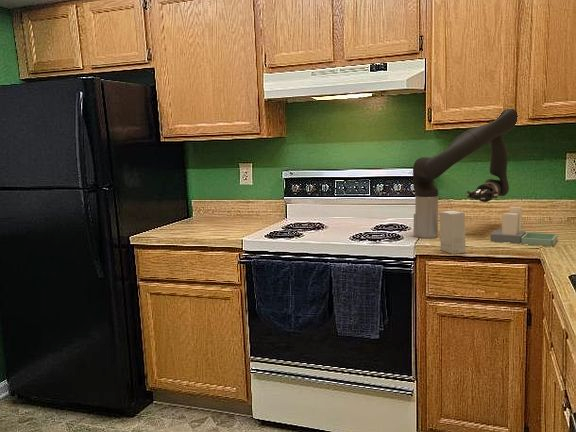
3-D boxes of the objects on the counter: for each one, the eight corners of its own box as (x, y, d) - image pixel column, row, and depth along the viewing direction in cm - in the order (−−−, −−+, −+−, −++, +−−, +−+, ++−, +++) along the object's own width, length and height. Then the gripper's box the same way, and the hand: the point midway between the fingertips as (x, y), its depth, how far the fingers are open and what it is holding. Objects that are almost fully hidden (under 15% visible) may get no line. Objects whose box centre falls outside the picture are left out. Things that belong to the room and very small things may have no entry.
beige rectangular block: (508, 232, 208) (509, 207, 207) (510, 230, 211) (511, 206, 210) (519, 233, 206) (520, 208, 204) (521, 231, 209) (522, 206, 208)
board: (490, 241, 207) (490, 234, 206) (496, 236, 216) (496, 229, 215) (520, 243, 201) (520, 236, 200) (525, 238, 210) (525, 231, 209)
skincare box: (465, 253, 189) (466, 212, 186) (450, 254, 187) (451, 213, 185) (453, 248, 197) (453, 209, 195) (438, 249, 195) (439, 210, 193)
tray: (520, 244, 200) (520, 238, 199) (526, 238, 210) (527, 232, 210) (552, 247, 194) (552, 240, 193) (557, 240, 204) (557, 234, 204)
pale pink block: (501, 234, 205) (502, 214, 204) (504, 232, 208) (504, 212, 207) (515, 235, 202) (516, 214, 201) (517, 233, 206) (518, 213, 205)
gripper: (471, 183, 225) (459, 187, 211) (503, 183, 218) (493, 188, 204) (471, 200, 226) (459, 206, 212) (503, 201, 219) (493, 207, 205)
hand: (476, 197), depth 208 cm, fingers closed
